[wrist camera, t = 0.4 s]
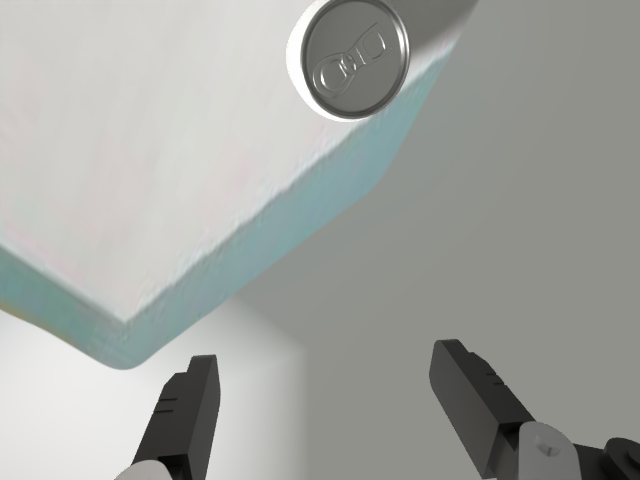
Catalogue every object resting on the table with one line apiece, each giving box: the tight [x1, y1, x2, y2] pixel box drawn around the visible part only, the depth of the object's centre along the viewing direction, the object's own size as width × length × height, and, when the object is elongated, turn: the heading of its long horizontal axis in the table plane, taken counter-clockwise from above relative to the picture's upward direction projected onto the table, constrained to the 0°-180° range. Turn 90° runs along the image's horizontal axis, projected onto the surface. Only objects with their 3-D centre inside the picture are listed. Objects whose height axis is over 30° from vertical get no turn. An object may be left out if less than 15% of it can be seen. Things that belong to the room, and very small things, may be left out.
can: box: [286, 0, 410, 122], centre depth 22 cm, size 6×6×12 cm
